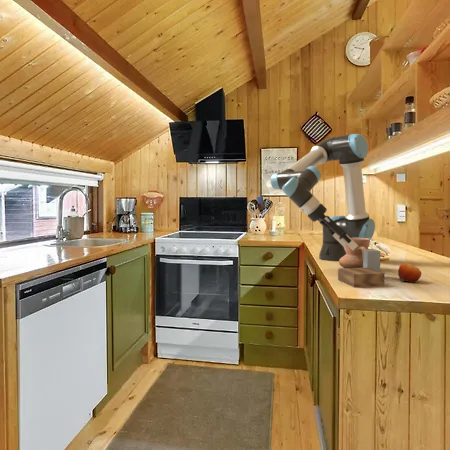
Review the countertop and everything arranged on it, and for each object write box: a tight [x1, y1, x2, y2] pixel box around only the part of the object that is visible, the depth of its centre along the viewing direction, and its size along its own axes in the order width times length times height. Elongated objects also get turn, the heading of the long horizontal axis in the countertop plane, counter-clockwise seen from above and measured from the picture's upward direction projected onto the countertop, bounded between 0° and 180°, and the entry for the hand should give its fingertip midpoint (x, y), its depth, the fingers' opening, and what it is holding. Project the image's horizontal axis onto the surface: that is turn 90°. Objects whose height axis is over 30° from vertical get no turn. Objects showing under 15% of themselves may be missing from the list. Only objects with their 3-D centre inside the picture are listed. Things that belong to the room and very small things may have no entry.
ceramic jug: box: [338, 237, 371, 268], centre depth 164 cm, size 18×14×14 cm
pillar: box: [363, 249, 381, 272], centre depth 147 cm, size 5×5×11 cm
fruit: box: [397, 262, 422, 283], centre depth 139 cm, size 8×8×8 cm
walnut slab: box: [337, 267, 385, 288], centre depth 137 cm, size 12×12×5 cm
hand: (350, 245), depth 147 cm, fingers open, 13 cm apart
